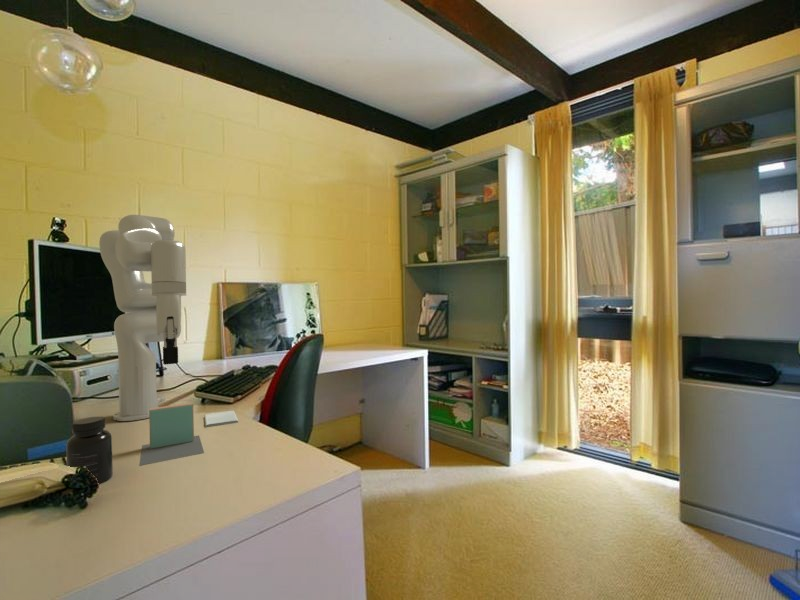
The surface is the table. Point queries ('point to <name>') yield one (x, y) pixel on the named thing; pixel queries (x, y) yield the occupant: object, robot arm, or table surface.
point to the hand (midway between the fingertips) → (170, 362)
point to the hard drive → (220, 418)
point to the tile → (171, 425)
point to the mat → (170, 451)
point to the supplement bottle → (91, 448)
